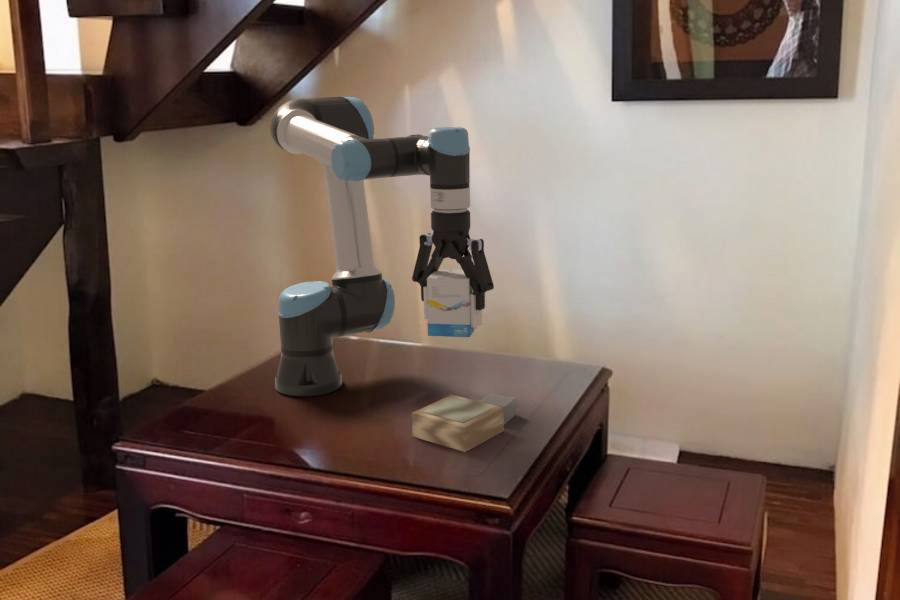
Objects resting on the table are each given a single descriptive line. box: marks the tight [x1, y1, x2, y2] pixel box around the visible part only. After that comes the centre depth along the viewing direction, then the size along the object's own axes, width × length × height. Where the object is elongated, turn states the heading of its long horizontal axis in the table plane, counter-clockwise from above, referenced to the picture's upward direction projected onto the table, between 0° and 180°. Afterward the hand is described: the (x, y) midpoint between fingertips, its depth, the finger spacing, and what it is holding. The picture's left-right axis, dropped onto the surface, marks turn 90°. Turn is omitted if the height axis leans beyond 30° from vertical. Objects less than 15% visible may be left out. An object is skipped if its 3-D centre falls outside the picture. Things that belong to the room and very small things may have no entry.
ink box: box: [427, 268, 478, 338], centre depth 194 cm, size 8×8×12 cm
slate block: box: [479, 393, 517, 425], centre depth 207 cm, size 6×6×4 cm
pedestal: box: [411, 394, 505, 453], centre depth 198 cm, size 13×13×5 cm
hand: (452, 321), depth 195 cm, fingers closed on ink box, 11 cm apart
